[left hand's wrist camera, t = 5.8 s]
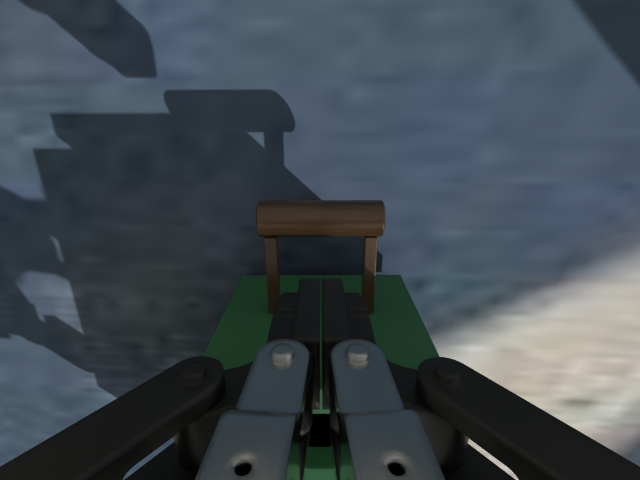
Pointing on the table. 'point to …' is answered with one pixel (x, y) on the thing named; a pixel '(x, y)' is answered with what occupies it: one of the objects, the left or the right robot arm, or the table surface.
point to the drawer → (378, 290)
